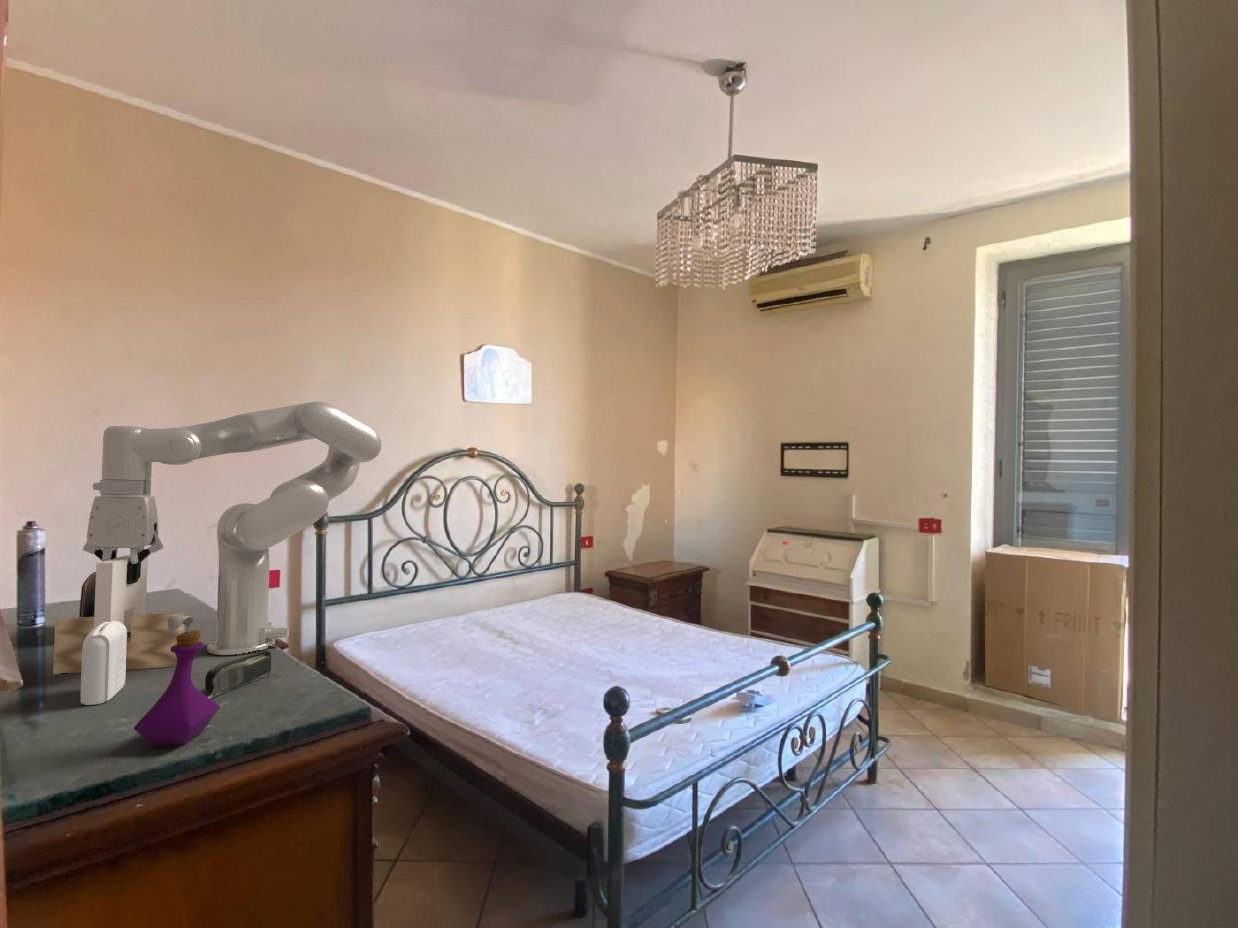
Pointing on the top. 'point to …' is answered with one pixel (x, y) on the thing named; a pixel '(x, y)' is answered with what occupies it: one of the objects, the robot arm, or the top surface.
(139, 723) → the perfume bottle
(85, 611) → the letter holder
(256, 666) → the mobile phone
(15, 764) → the top surface
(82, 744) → the top surface
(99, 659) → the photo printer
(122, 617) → the cream angled block
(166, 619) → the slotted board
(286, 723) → the top surface
